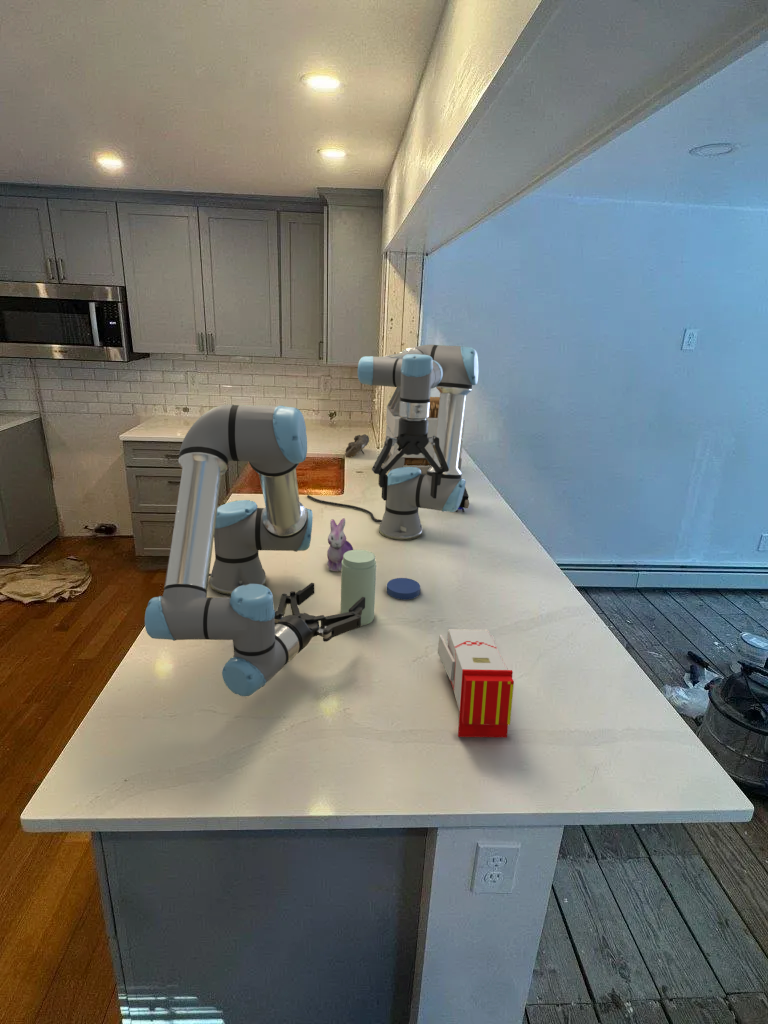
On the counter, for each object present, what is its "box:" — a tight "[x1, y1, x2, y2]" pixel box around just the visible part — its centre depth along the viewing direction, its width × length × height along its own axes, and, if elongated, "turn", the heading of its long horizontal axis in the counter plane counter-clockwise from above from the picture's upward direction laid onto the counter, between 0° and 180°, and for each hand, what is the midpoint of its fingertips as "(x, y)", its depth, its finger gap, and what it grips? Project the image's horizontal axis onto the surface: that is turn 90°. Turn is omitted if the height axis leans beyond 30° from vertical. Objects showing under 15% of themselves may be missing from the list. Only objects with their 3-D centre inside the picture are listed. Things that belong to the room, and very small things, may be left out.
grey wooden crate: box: [383, 387, 465, 472], centre depth 268 cm, size 34×33×41 cm
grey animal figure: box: [344, 433, 370, 458], centre depth 304 cm, size 22×10×15 cm
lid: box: [386, 577, 421, 601], centre depth 159 cm, size 9×9×2 cm
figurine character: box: [455, 487, 470, 513], centre depth 227 cm, size 7×8×15 cm
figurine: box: [326, 517, 354, 572], centre depth 171 cm, size 9×10×15 cm
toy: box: [437, 628, 515, 738], centre depth 117 cm, size 12×13×30 cm
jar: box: [340, 549, 377, 627], centre depth 142 cm, size 9×9×17 cm
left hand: (337, 594), depth 132 cm, fingers open, 13 cm apart
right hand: (408, 498), depth 150 cm, fingers open, 13 cm apart
